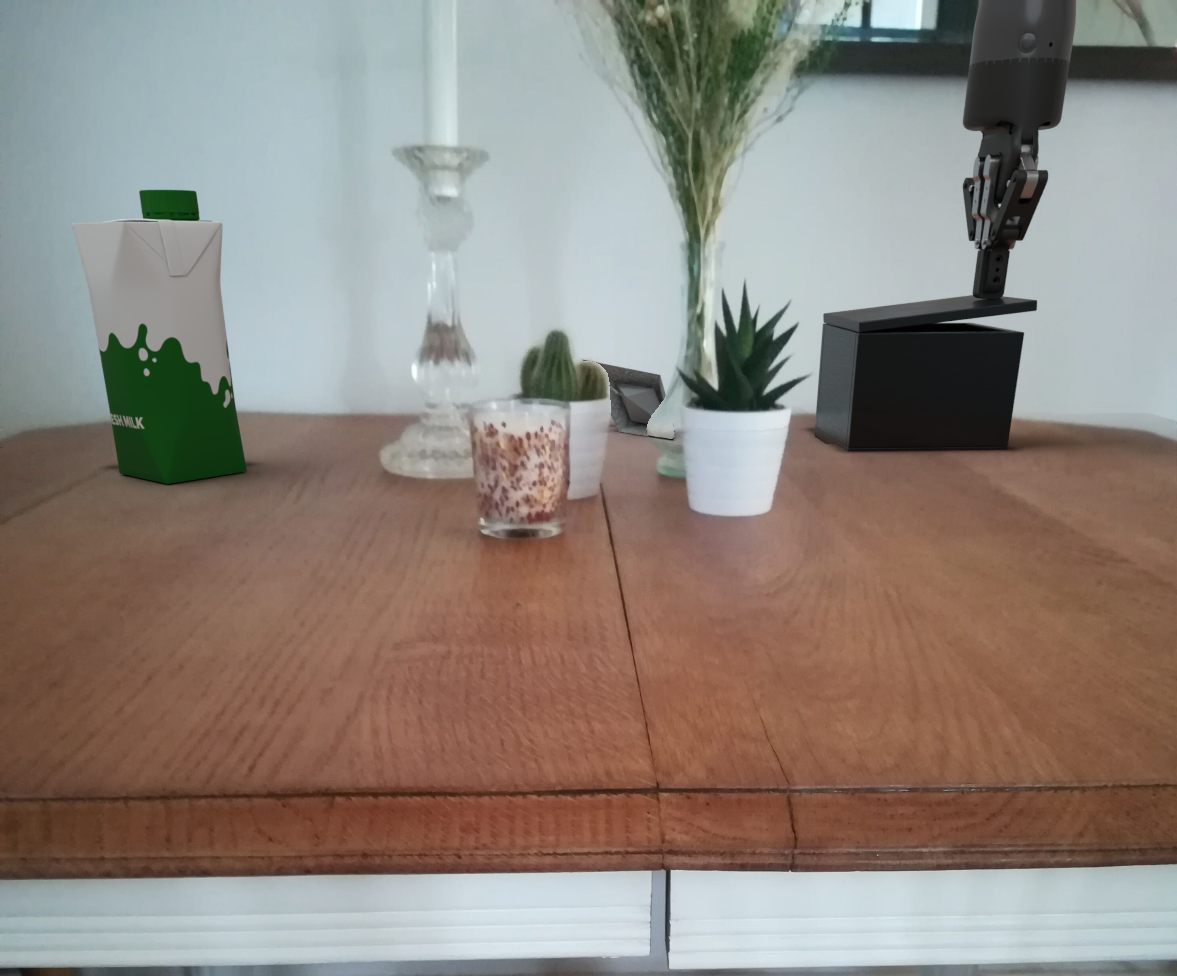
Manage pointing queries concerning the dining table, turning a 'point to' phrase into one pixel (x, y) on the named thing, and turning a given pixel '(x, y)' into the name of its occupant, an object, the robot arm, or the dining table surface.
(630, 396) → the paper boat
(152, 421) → the milk carton
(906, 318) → the box lid
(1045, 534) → the dining table surface
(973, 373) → the black box
